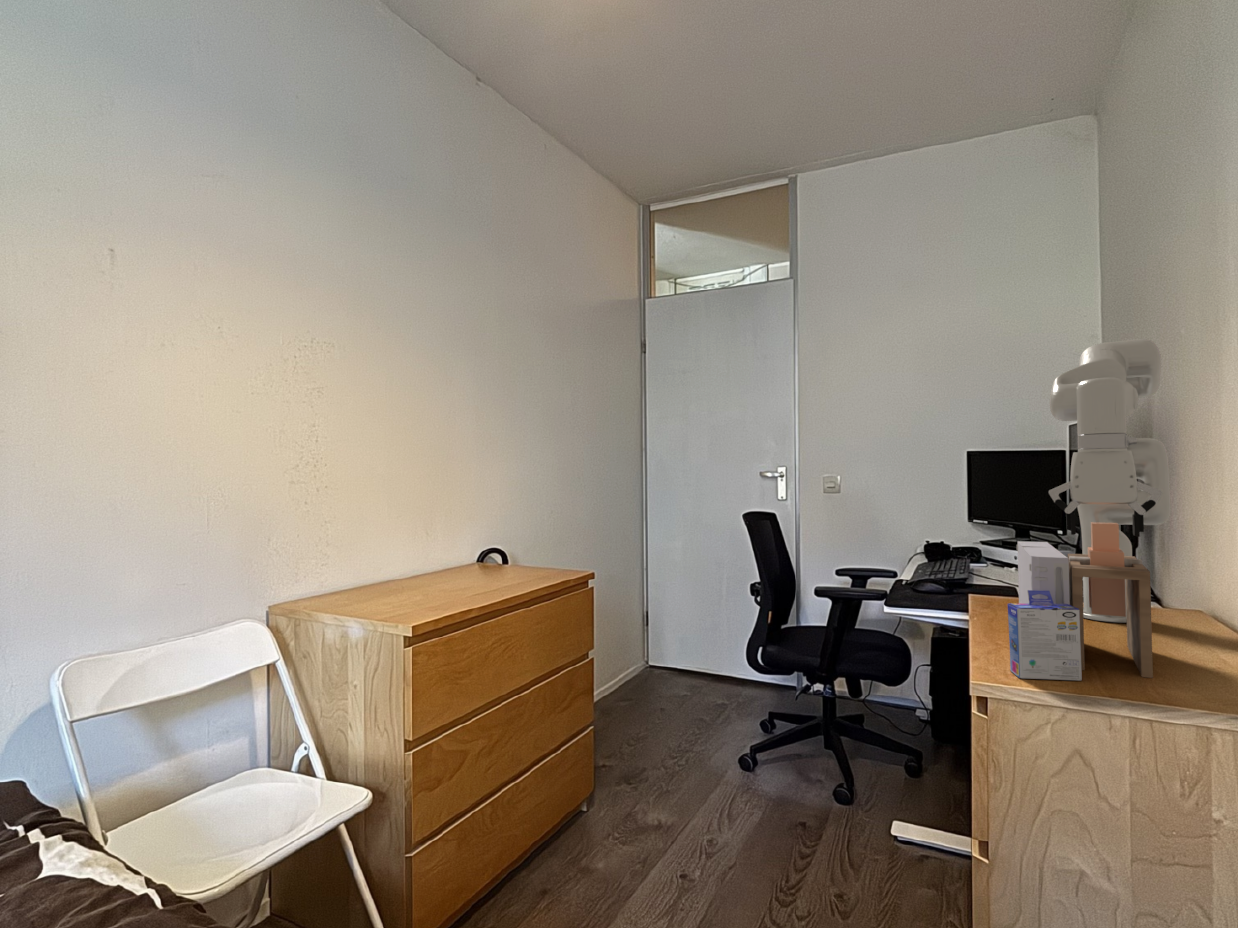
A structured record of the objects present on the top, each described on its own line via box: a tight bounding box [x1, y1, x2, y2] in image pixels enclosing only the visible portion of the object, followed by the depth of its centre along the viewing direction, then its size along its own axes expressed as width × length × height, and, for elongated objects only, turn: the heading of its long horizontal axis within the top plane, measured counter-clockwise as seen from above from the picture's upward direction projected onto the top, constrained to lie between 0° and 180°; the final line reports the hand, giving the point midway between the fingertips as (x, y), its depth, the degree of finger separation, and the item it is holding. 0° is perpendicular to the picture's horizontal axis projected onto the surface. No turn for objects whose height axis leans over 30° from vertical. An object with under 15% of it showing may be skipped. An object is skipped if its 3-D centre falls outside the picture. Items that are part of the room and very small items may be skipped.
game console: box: [1016, 540, 1070, 605], centre depth 132 cm, size 6×27×20 cm, turn 154°
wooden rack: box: [1067, 553, 1154, 679], centre depth 125 cm, size 22×11×19 cm, turn 148°
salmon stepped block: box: [1088, 522, 1126, 617], centre depth 126 cm, size 8×5×16 cm, turn 148°
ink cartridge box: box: [1007, 590, 1083, 682], centre depth 116 cm, size 10×6×14 cm, turn 78°
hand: (1104, 534), depth 126 cm, fingers open, 9 cm apart
